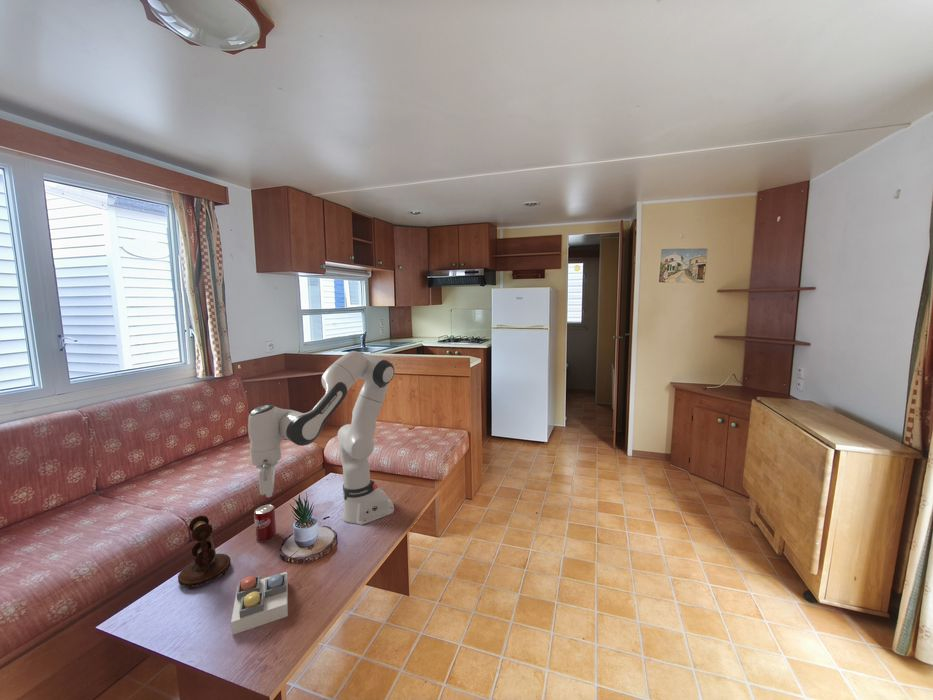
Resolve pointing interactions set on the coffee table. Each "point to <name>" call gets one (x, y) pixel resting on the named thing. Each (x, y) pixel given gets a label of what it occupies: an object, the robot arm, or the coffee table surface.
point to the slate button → (275, 581)
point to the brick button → (248, 583)
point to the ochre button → (251, 599)
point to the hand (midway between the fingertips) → (269, 495)
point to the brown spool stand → (203, 557)
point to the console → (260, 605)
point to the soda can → (265, 523)
